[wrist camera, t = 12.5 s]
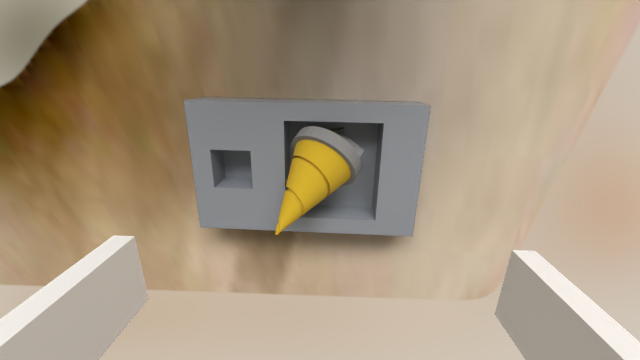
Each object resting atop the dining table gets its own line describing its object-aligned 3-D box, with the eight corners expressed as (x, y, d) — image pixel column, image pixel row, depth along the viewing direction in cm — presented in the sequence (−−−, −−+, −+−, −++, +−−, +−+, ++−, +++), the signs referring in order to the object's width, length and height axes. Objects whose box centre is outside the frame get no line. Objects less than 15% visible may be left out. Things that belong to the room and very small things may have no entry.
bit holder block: (214, 211, 27) (200, 227, 24) (202, 97, 24) (183, 100, 21) (404, 218, 26) (412, 236, 23) (418, 101, 23) (430, 105, 20)
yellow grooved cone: (376, 158, 24) (318, 266, 20) (320, 140, 26) (256, 234, 22) (377, 109, 20) (303, 234, 16) (310, 92, 22) (227, 198, 18)
